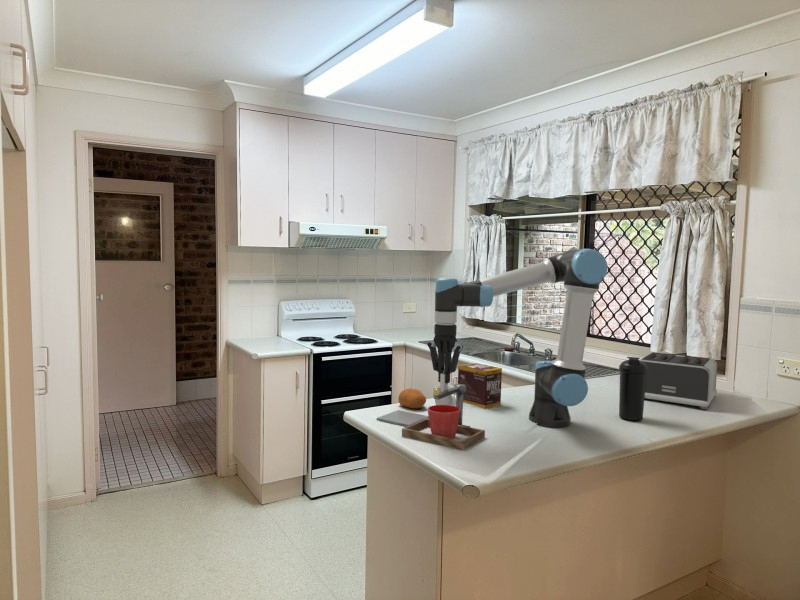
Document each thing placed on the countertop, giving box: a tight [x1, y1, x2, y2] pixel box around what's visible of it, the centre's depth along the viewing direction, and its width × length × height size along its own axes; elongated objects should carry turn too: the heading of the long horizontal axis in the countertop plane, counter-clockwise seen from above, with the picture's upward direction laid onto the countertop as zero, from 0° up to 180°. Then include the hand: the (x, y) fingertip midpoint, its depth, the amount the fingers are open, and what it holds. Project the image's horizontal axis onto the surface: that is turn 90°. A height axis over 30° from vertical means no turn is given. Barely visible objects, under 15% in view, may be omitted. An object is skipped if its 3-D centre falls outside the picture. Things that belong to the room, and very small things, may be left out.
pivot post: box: [455, 392, 471, 427], centre depth 196 cm, size 6×6×13 cm
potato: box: [398, 387, 427, 410], centre depth 222 cm, size 9×11×8 cm
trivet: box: [376, 409, 429, 427], centre depth 206 cm, size 14×14×1 cm
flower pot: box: [427, 404, 460, 439], centre depth 187 cm, size 11×11×10 cm
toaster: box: [639, 351, 718, 410], centre depth 252 cm, size 31×36×18 cm
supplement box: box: [457, 362, 503, 410], centre depth 232 cm, size 10×15×16 cm
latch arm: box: [432, 383, 466, 400], centre depth 189 cm, size 4×19×4 cm, turn 146°
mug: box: [434, 384, 456, 406], centre depth 219 cm, size 11×8×9 cm
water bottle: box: [618, 356, 648, 421], centre depth 216 cm, size 10×10×23 cm
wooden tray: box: [401, 418, 486, 451], centre depth 187 cm, size 23×16×2 cm
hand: (443, 391), depth 192 cm, fingers closed
